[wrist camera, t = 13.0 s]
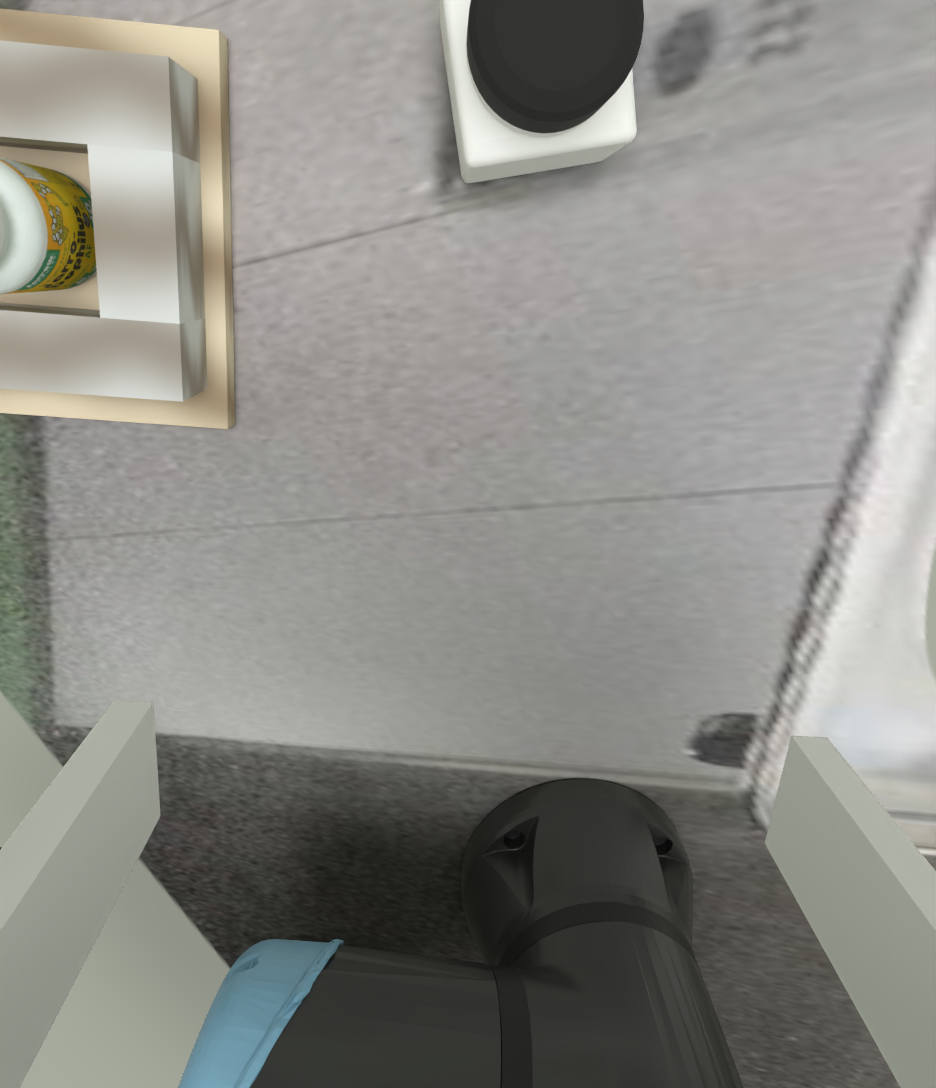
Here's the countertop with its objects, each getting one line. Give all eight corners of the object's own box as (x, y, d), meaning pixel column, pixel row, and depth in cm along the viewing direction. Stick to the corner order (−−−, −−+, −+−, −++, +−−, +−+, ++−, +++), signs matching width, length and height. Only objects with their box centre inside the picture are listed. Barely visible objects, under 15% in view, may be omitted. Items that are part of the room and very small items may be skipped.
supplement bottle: (11, 149, 36) (-133, 109, 27) (125, 199, 37) (22, 176, 28) (-14, 263, 38) (-157, 261, 29) (96, 308, 39) (-10, 320, 30)
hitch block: (235, 423, 42) (206, 445, 37) (-71, 401, 41) (-145, 421, 36) (227, 39, 36) (191, 1, 31) (-130, 4, 35) (-228, -41, 30)
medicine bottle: (605, 161, 39) (672, 118, 27) (462, 185, 39) (469, 151, 27) (591, -8, 36) (657, -132, 25) (438, 18, 36) (436, -94, 25)
